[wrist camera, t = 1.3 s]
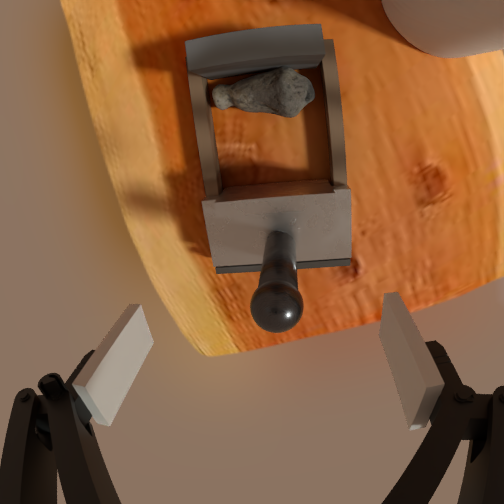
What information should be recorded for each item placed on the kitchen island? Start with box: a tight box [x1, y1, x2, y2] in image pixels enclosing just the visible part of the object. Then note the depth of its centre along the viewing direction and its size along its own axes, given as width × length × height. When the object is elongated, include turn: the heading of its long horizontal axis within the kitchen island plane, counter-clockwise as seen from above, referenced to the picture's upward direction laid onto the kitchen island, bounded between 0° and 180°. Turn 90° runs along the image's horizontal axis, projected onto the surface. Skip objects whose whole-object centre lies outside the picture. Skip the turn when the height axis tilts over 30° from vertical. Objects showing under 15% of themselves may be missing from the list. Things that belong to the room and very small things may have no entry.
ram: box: [202, 179, 351, 333], centre depth 30 cm, size 8×16×18 cm, turn 97°
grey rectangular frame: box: [185, 24, 350, 274], centre depth 31 cm, size 26×16×9 cm, turn 7°
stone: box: [212, 66, 315, 118], centre depth 30 cm, size 10×5×8 cm
